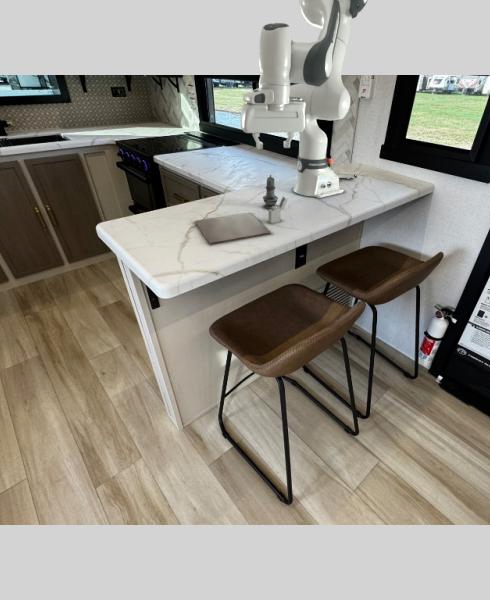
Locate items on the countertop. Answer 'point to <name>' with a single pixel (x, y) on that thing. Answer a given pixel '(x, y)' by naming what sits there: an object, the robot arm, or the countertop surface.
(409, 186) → the countertop surface
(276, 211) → the lighter
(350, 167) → the countertop surface
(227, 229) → the walnut board
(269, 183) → the tarnished pewter finial
